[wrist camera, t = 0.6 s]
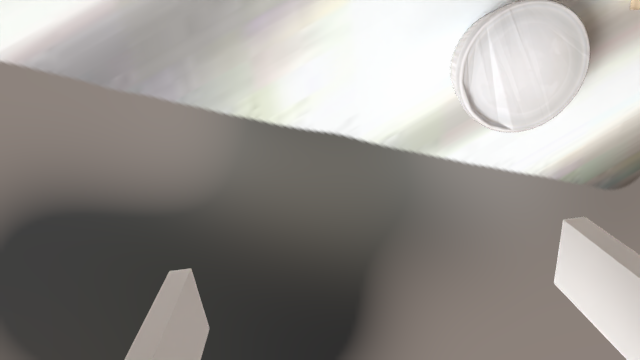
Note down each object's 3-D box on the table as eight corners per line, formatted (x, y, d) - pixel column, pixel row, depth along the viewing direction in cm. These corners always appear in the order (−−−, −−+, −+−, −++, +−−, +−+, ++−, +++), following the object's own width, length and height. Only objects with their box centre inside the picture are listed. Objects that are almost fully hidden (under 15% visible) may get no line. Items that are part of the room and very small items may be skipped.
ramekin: (415, 78, 38) (433, 87, 33) (496, -27, 35) (528, -34, 30) (495, 139, 41) (522, 156, 36) (576, 48, 38) (617, 53, 33)
